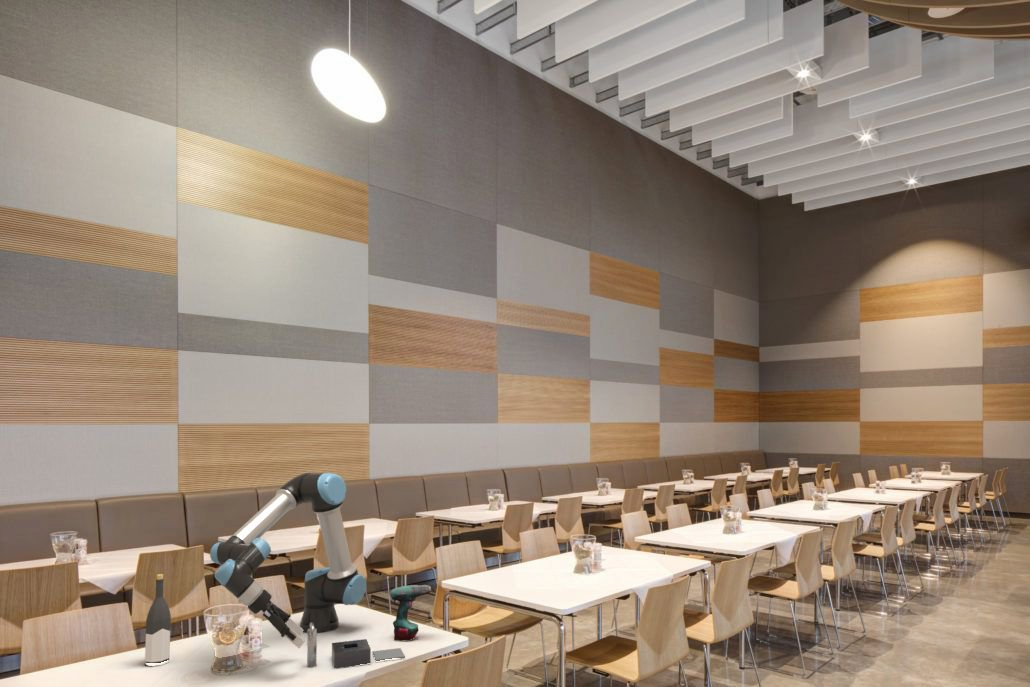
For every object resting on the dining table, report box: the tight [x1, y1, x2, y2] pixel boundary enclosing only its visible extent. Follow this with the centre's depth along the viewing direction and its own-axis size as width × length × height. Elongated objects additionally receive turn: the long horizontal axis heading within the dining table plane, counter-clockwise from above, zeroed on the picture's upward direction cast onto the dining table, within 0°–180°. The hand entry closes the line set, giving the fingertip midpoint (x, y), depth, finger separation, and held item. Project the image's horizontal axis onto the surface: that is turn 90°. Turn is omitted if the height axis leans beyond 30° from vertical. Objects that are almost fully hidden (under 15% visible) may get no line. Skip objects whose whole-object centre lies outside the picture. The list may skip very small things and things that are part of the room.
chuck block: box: [331, 638, 372, 669], centre depth 247 cm, size 12×12×5 cm
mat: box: [371, 647, 406, 662], centre depth 251 cm, size 10×10×1 cm
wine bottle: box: [144, 573, 172, 663], centre depth 251 cm, size 8×8×30 cm
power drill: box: [389, 584, 432, 641], centre depth 272 cm, size 7×16×20 cm, turn 78°
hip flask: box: [306, 622, 318, 668], centre depth 243 cm, size 8×3×13 cm, turn 18°
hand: (301, 639), depth 242 cm, fingers open, 13 cm apart
